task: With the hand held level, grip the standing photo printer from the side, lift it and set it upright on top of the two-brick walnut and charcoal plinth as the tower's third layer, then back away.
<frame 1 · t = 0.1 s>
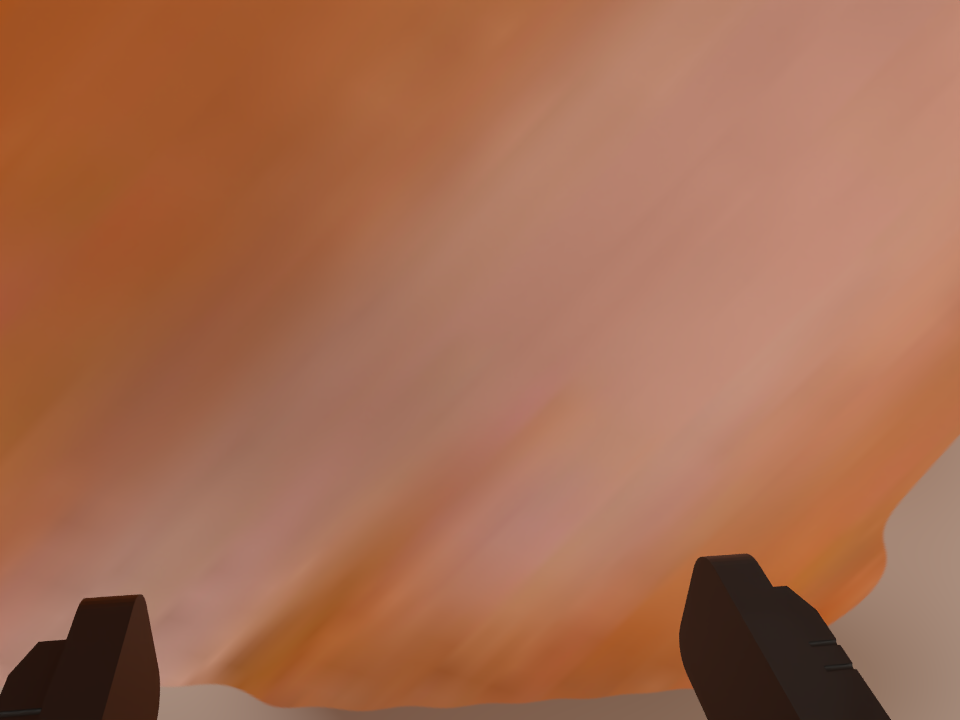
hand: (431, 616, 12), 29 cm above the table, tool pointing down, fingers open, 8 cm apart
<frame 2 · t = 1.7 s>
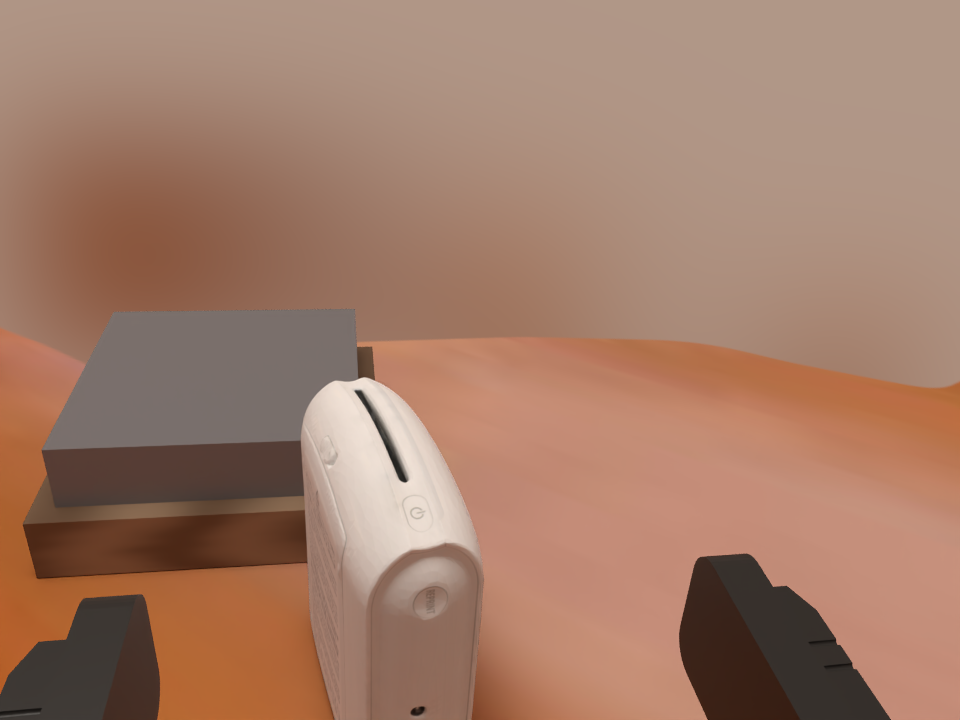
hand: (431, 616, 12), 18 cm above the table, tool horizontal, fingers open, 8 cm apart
top brick: (229, 419, 42), resting on base brick
base brick: (233, 467, 44), on the table
photo printer: (381, 697, 32), on the table
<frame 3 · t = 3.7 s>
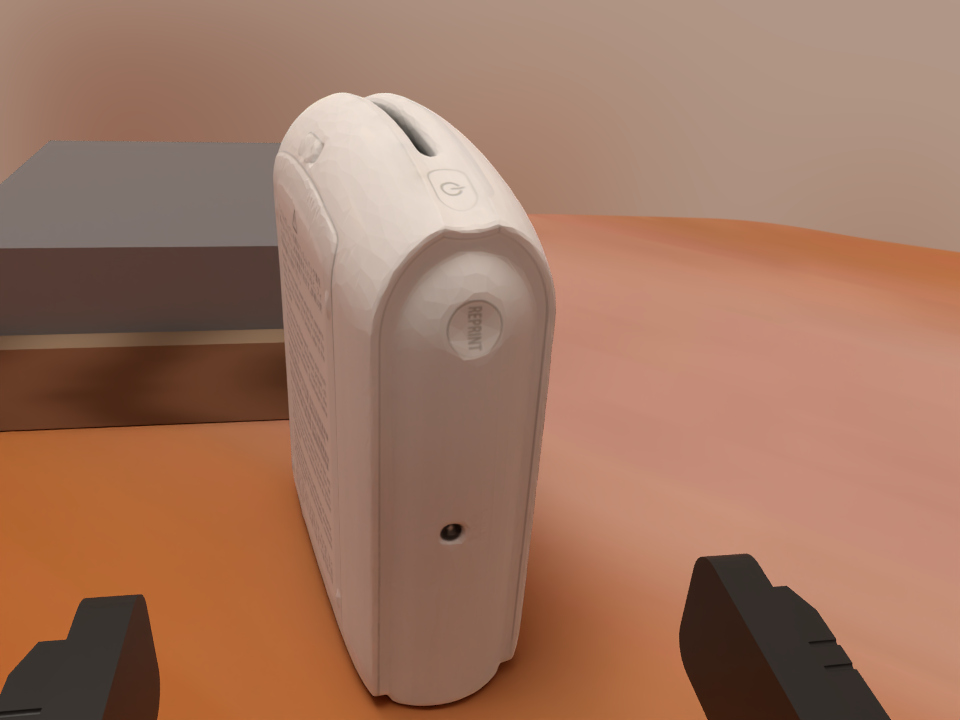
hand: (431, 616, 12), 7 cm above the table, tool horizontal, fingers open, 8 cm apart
top brick: (191, 258, 33), resting on base brick
base brick: (199, 325, 35), on the table
photo printer: (391, 567, 23), on the table
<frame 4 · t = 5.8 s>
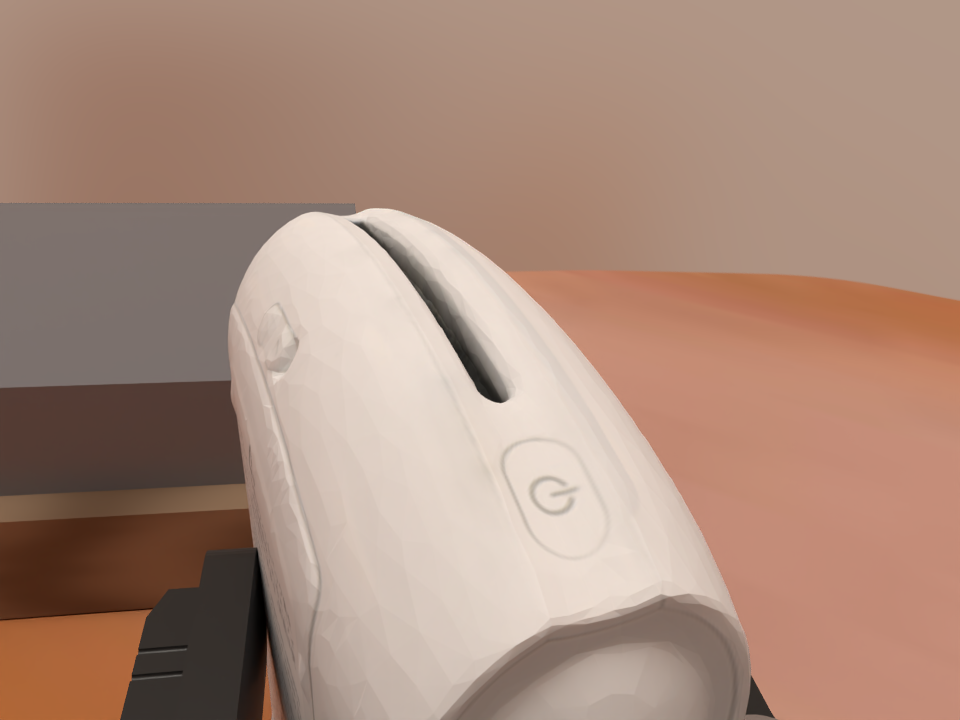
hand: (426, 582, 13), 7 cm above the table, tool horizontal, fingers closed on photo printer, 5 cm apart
top brick: (151, 362, 26), resting on base brick
base brick: (164, 442, 27), on the table
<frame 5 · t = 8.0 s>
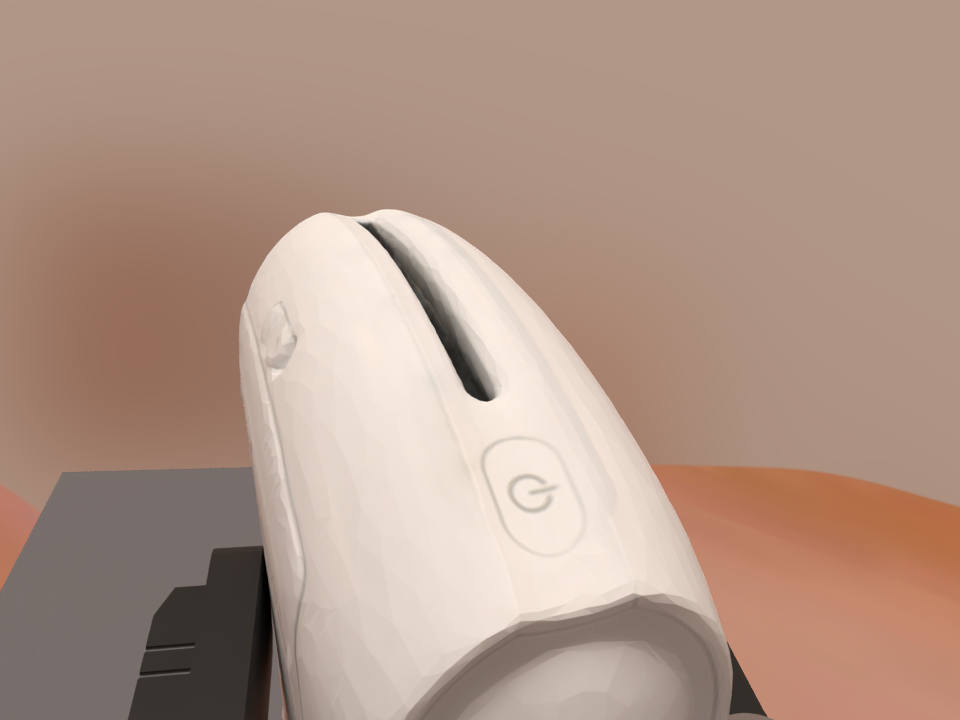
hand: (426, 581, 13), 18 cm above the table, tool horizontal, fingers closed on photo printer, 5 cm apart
top brick: (212, 644, 30), resting on base brick
when the fingers open (14 cm above the table, at t = 10.5 s): photo printer drops 1 cm, resting on top brick.
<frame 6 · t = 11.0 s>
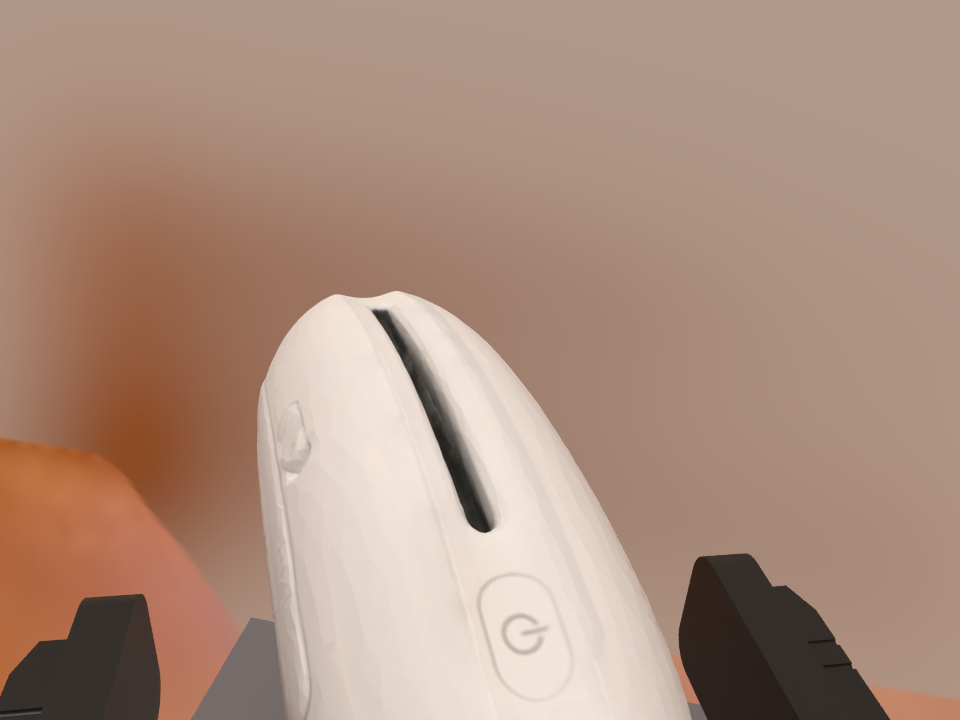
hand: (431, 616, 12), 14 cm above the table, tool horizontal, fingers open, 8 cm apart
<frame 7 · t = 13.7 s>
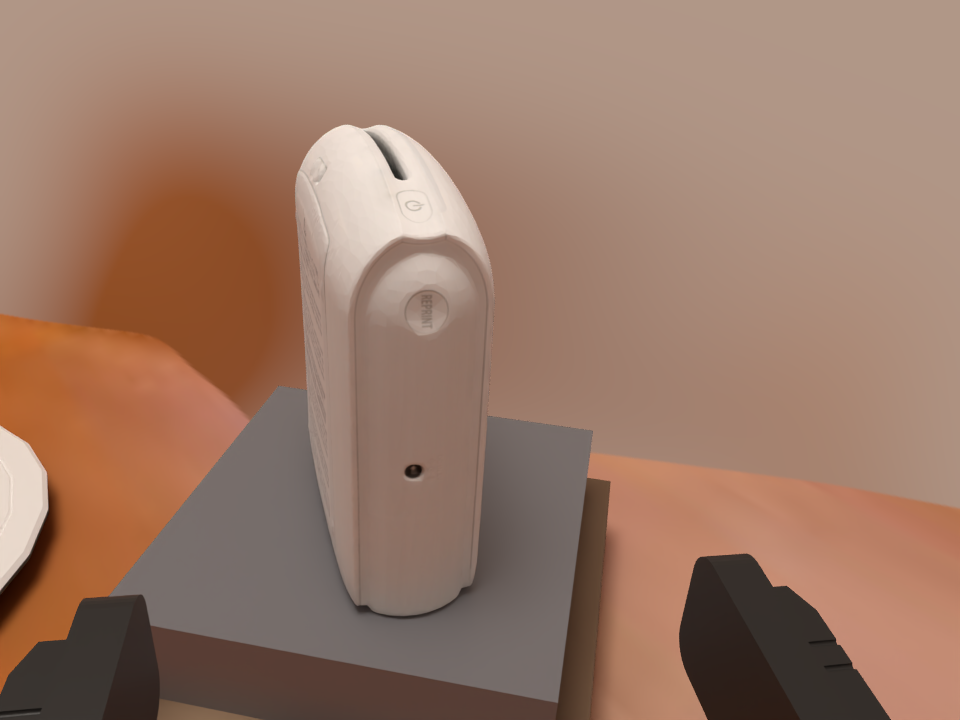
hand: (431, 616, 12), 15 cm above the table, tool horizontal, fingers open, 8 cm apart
top brick: (386, 574, 29), resting on base brick
base brick: (386, 635, 31), on the table
photo printer: (385, 513, 28), point 6 cm above the table, touching top brick
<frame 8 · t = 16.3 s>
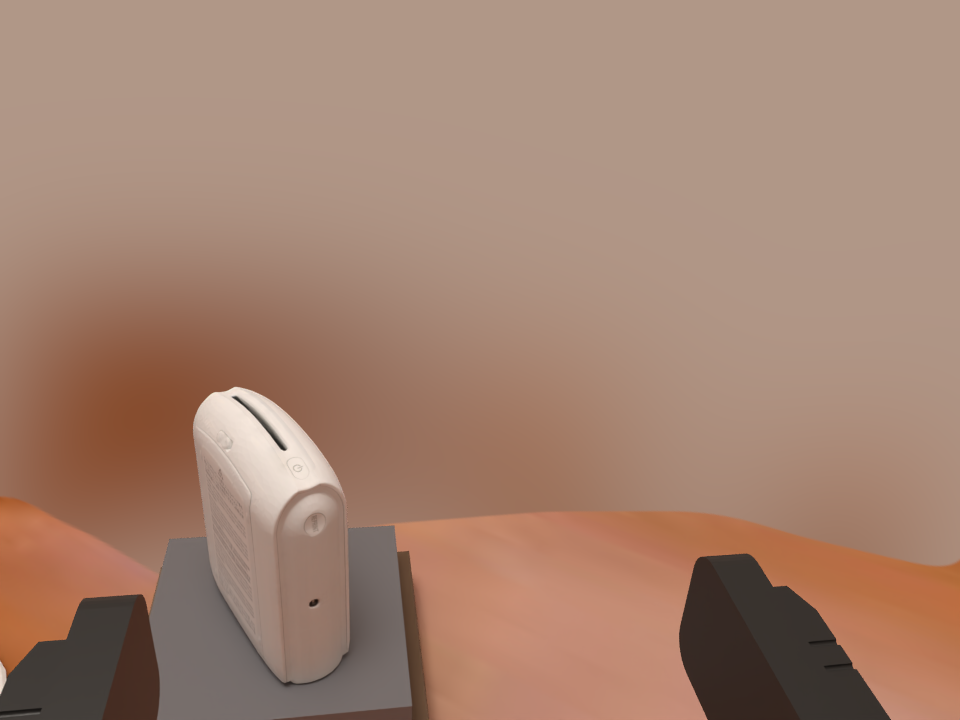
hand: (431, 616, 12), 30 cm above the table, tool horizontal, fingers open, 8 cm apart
top brick: (281, 654, 45), resting on base brick
base brick: (285, 692, 47), on the table
photo printer: (278, 618, 44), point 6 cm above the table, touching top brick
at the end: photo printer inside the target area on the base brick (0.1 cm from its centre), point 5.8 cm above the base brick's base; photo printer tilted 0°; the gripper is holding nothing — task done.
